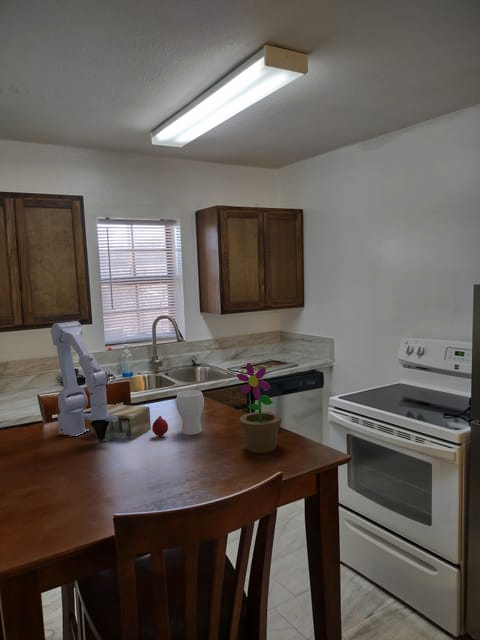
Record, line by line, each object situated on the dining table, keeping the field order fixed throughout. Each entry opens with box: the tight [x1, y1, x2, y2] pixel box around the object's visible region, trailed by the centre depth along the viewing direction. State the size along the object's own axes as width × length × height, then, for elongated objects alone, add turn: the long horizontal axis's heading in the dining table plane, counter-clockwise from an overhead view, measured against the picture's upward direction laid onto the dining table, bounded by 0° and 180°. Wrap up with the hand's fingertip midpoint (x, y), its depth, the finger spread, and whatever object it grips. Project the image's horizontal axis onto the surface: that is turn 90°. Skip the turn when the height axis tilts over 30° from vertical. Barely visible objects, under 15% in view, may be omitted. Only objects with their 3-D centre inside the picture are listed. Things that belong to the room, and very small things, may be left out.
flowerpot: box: [236, 362, 282, 454], centre depth 154 cm, size 14×14×30 cm
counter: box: [107, 404, 152, 441], centre depth 178 cm, size 19×12×9 cm, turn 70°
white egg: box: [122, 420, 130, 433], centre depth 176 cm, size 3×3×4 cm
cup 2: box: [175, 389, 205, 436], centre depth 174 cm, size 11×11×15 cm
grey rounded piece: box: [106, 421, 113, 431], centre depth 179 cm, size 3×3×4 cm
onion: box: [151, 415, 169, 438], centre depth 170 cm, size 6×6×8 cm
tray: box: [102, 418, 131, 442], centre depth 175 cm, size 14×14×7 cm
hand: (101, 439), depth 168 cm, fingers closed
